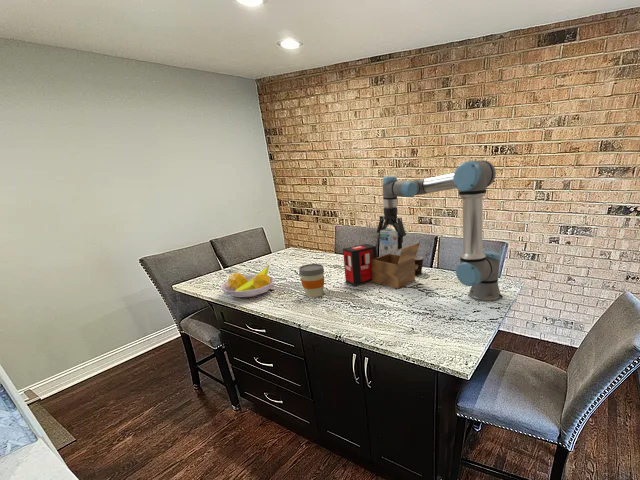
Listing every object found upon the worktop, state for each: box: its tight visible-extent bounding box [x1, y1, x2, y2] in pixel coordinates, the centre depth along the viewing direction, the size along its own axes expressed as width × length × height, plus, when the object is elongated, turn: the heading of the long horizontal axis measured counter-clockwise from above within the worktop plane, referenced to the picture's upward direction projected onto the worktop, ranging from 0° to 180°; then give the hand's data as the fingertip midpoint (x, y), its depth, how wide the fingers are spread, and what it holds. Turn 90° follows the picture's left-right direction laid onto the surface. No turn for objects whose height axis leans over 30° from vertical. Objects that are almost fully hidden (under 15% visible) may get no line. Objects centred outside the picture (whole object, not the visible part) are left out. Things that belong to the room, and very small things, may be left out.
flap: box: [398, 242, 421, 264], centre depth 182 cm, size 9×16×1 cm
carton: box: [371, 253, 416, 290], centre depth 193 cm, size 19×16×14 cm
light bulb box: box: [379, 228, 403, 252], centre depth 187 cm, size 11×7×11 cm, turn 68°
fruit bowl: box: [220, 264, 276, 298], centre depth 181 cm, size 28×27×11 cm
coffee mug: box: [415, 255, 424, 276], centre depth 207 cm, size 12×9×10 cm
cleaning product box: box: [342, 243, 377, 287], centre depth 194 cm, size 16×9×20 cm, turn 131°
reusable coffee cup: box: [298, 263, 325, 298], centre depth 176 cm, size 13×13×15 cm
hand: (391, 247), depth 189 cm, fingers closed on light bulb box, 11 cm apart
